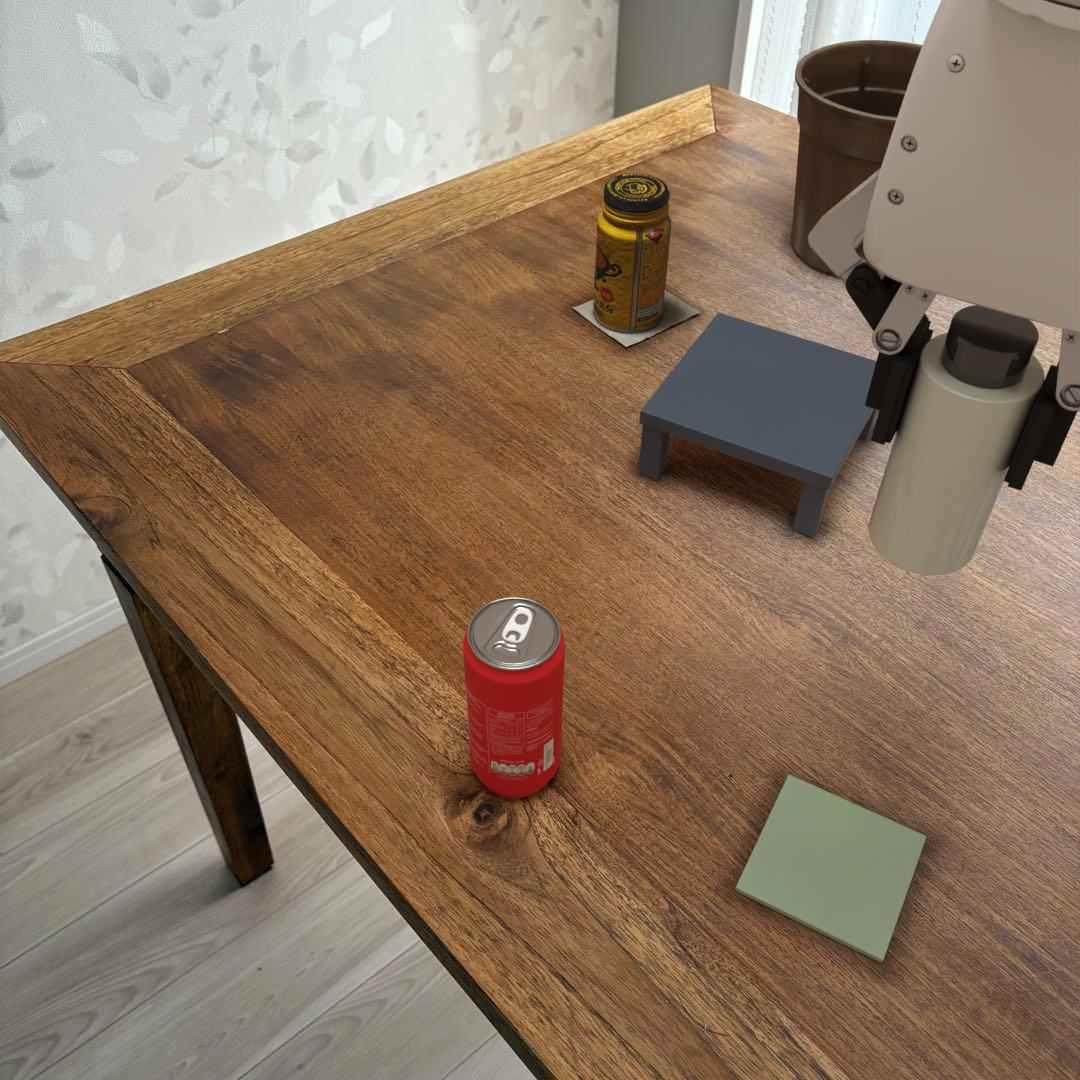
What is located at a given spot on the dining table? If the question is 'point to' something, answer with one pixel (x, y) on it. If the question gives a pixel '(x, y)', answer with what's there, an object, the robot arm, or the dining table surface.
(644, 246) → the condiment
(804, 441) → the grey miniature table
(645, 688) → the dining table surface
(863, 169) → the plant pot
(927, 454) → the spice bottle
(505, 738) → the beverage can
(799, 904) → the coaster
